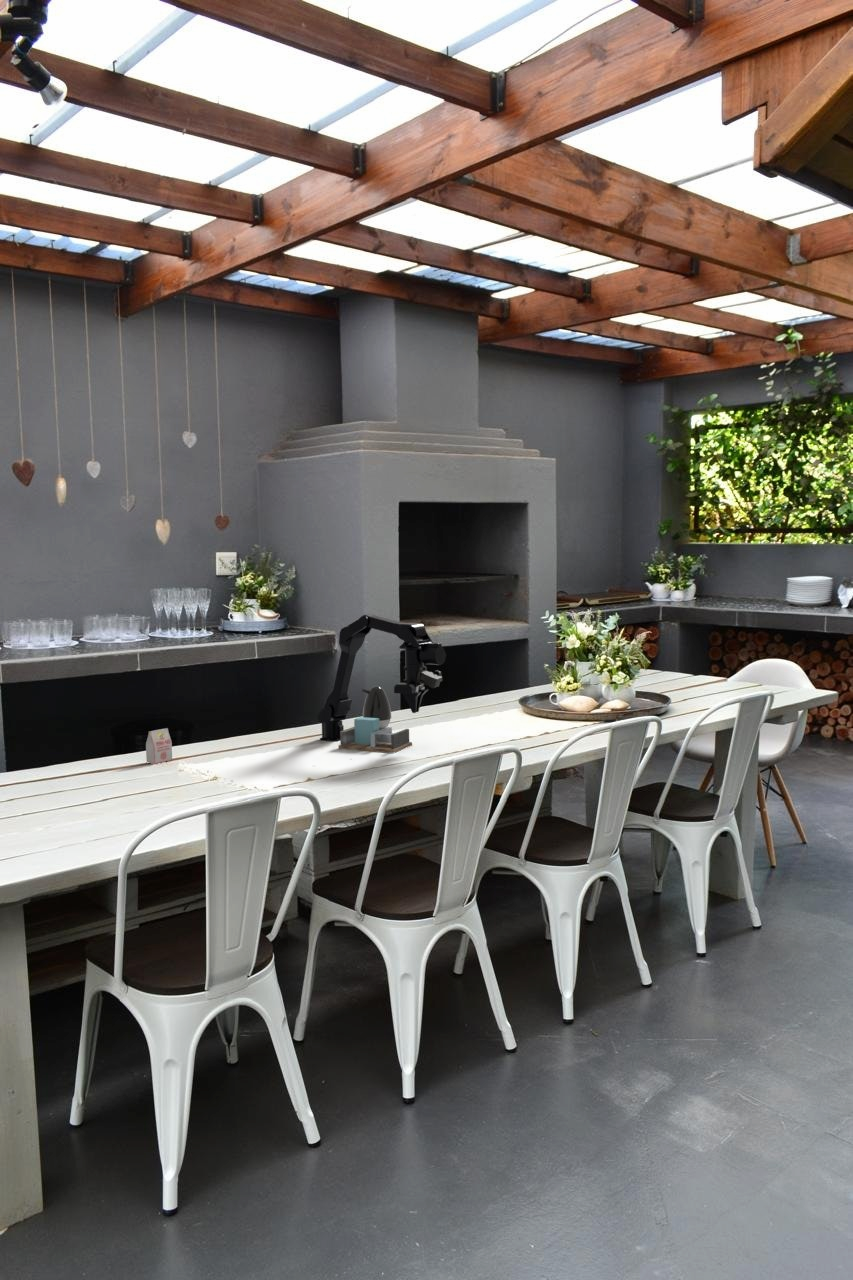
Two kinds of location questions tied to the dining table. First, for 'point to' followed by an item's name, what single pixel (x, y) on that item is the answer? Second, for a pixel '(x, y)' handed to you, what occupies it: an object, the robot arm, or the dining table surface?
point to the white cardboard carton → (158, 746)
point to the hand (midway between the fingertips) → (415, 712)
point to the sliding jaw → (389, 737)
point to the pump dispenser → (377, 706)
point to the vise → (349, 743)
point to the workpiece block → (365, 729)
